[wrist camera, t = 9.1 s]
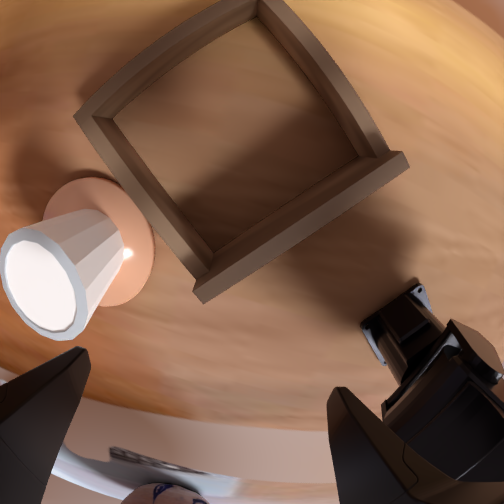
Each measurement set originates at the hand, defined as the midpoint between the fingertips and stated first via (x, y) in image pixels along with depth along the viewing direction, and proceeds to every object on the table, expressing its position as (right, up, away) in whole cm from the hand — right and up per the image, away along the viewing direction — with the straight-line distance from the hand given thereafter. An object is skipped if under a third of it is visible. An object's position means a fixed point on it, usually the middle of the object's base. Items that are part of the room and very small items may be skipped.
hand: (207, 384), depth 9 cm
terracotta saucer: (-10, +5, +10) cm, 15 cm away
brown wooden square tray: (0, +12, +8) cm, 15 cm away
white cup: (-10, +5, +10) cm, 15 cm away
